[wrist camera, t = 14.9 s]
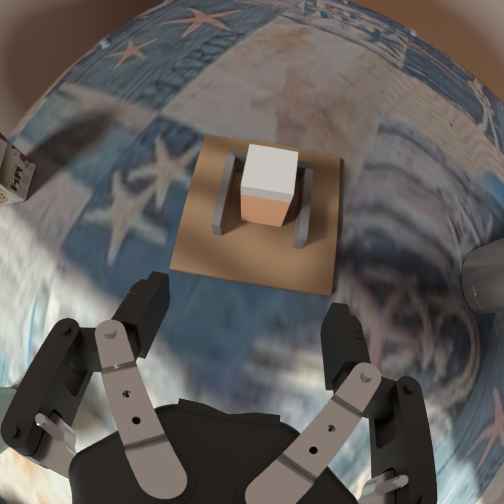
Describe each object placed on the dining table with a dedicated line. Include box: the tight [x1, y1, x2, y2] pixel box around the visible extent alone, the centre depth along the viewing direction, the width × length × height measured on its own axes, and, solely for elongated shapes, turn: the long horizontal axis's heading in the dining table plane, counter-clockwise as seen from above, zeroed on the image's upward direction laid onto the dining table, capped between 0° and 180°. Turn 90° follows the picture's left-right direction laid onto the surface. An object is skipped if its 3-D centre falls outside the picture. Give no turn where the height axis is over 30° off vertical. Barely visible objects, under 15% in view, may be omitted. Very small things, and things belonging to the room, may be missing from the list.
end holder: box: [170, 135, 340, 296], centre depth 27 cm, size 16×16×4 cm
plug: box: [241, 144, 298, 227], centre depth 24 cm, size 4×4×8 cm
